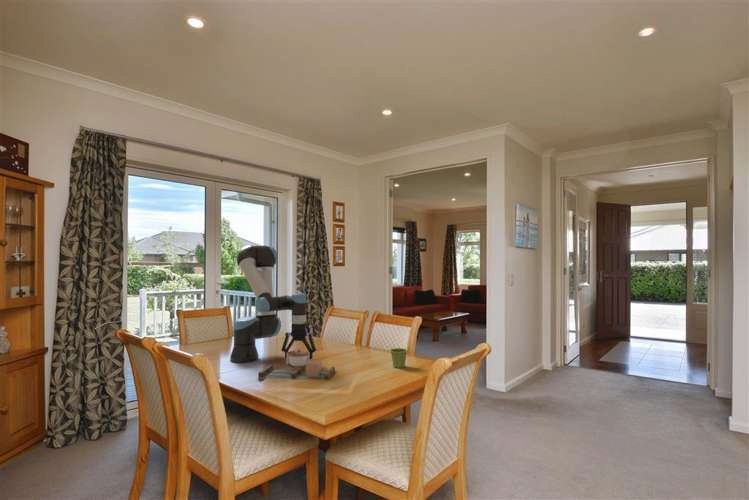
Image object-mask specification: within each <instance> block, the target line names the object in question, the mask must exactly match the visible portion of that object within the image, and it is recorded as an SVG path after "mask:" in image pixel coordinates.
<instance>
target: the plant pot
mask: <svg viewBox="0 0 749 500" xmlns="http://www.w3.org/2000/svg"><path fill="white" fill-rule="evenodd" d="M389 352H390V355H391V361H392V367H393V368H396V369H403V368H406V367H405V366H406V358H407V354H408V352H409V351H408V349H406V348H399V347H398V348H396V347H395V348H391V349H389Z"/></svg>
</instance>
